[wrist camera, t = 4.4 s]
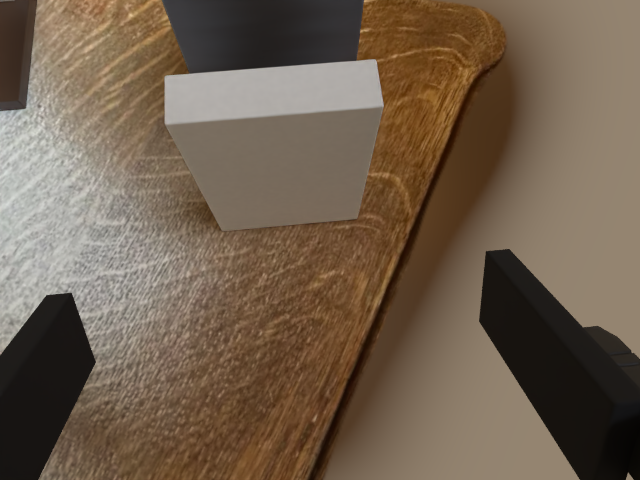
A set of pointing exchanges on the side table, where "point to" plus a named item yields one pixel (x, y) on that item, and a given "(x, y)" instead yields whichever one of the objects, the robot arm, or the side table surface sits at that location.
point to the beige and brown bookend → (15, 51)
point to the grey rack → (264, 32)
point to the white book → (277, 140)
